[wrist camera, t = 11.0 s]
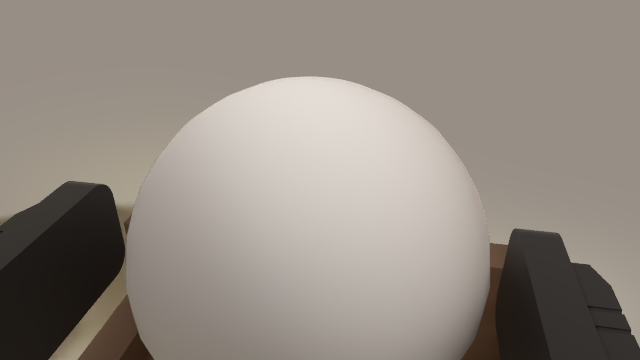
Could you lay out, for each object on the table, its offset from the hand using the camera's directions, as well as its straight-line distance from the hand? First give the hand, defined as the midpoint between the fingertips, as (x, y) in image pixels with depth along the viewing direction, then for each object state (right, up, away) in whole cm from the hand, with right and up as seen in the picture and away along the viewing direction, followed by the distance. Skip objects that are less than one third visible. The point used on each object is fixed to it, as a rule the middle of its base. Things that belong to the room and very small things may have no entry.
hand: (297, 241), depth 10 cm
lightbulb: (0, -7, +3) cm, 8 cm away
